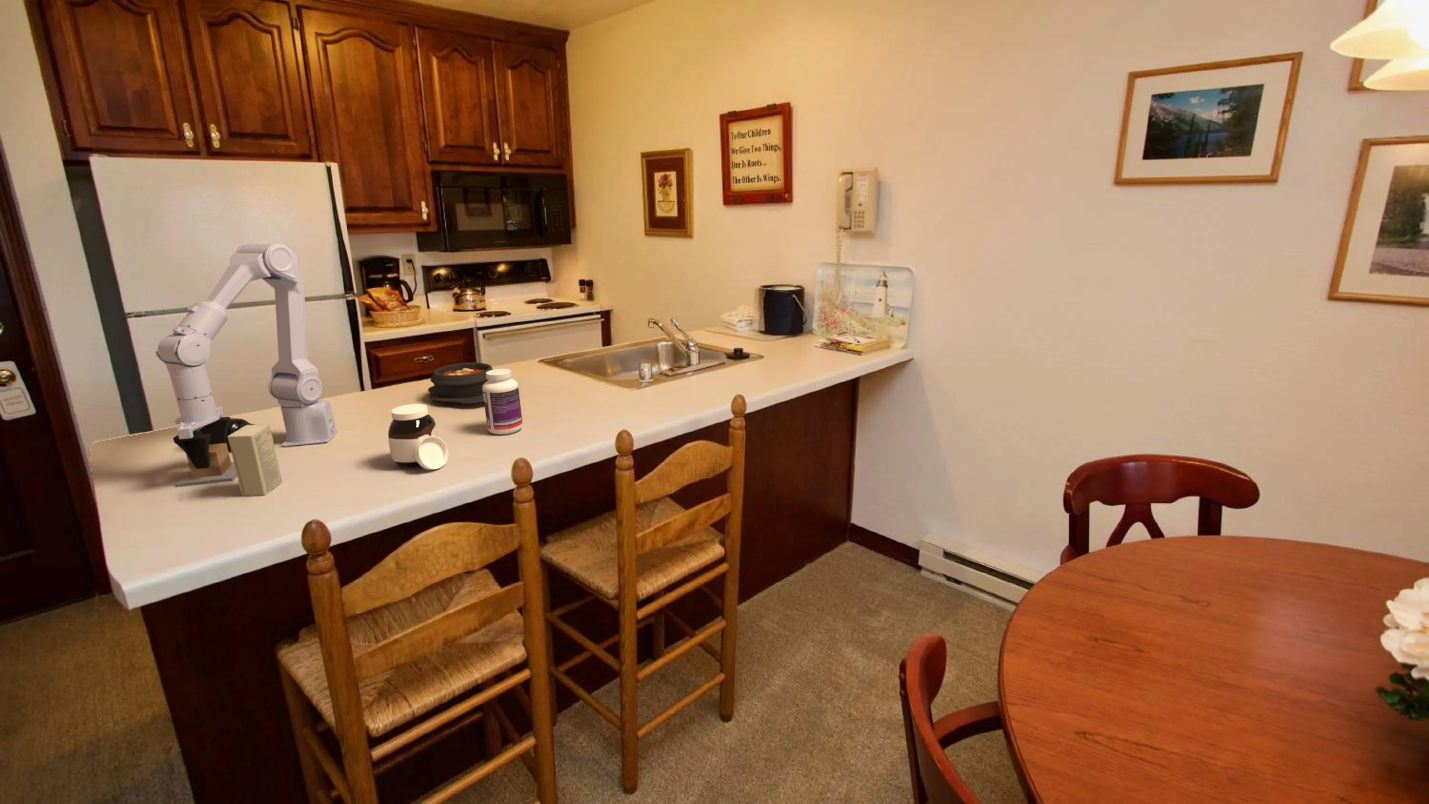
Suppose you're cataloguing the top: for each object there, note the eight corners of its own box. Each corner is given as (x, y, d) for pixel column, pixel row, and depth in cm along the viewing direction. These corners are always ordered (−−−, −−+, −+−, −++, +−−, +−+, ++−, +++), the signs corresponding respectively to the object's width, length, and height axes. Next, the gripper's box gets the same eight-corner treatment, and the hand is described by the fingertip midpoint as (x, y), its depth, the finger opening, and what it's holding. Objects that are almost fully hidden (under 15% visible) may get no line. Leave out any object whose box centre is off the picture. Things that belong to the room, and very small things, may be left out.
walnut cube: (231, 465, 136) (226, 443, 134) (221, 475, 131) (215, 451, 129) (203, 468, 134) (197, 445, 133) (192, 478, 130) (186, 454, 128)
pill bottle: (530, 427, 158) (524, 369, 154) (507, 438, 151) (500, 377, 147) (504, 422, 161) (497, 366, 157) (480, 433, 154) (472, 374, 150)
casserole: (521, 398, 181) (518, 369, 179) (459, 415, 168) (454, 383, 165) (473, 383, 197) (469, 355, 194) (412, 397, 183) (407, 368, 180)
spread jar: (410, 452, 143) (402, 401, 140) (462, 452, 143) (455, 401, 140) (382, 474, 132) (373, 419, 129) (438, 475, 132) (430, 420, 128)
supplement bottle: (194, 450, 145) (240, 453, 142) (190, 419, 143) (236, 422, 141) (223, 443, 151) (267, 446, 149) (219, 414, 150) (264, 416, 148)
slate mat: (250, 462, 138) (250, 460, 138) (232, 480, 130) (231, 478, 130) (198, 468, 136) (197, 465, 136) (176, 486, 127) (175, 483, 127)
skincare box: (260, 483, 129) (246, 424, 125) (283, 482, 129) (270, 423, 125) (240, 497, 123) (225, 436, 119) (265, 496, 123) (251, 435, 119)
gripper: (188, 387, 134) (204, 449, 138) (151, 408, 120) (170, 477, 124) (228, 384, 135) (242, 446, 139) (195, 405, 122) (213, 472, 126)
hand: (211, 460), depth 132 cm, fingers open, 7 cm apart
